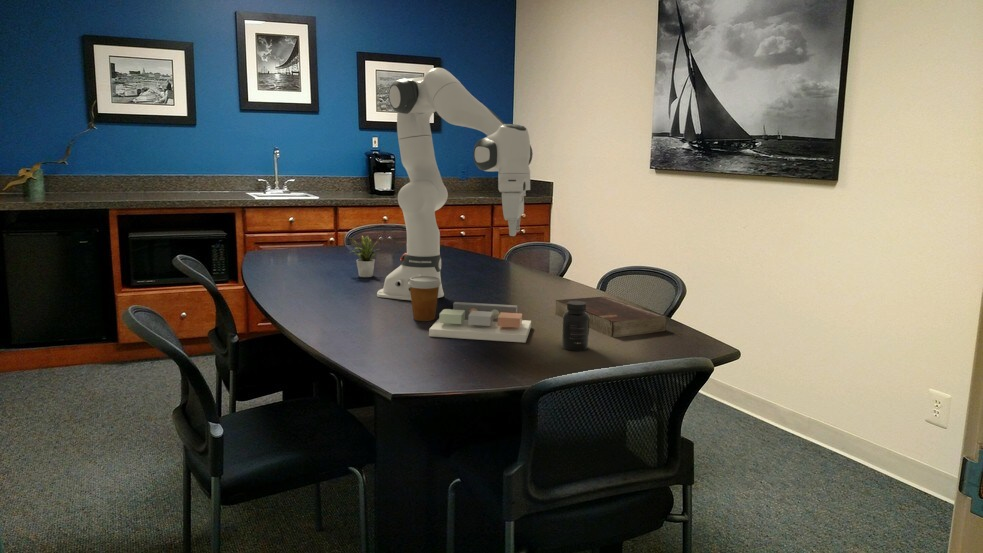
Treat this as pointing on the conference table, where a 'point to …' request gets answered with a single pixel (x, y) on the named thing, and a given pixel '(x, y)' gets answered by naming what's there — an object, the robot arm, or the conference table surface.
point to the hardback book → (616, 317)
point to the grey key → (480, 318)
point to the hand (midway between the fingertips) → (514, 233)
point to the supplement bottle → (575, 327)
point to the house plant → (365, 258)
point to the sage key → (452, 316)
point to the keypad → (482, 331)
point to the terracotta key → (510, 320)
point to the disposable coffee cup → (424, 296)
